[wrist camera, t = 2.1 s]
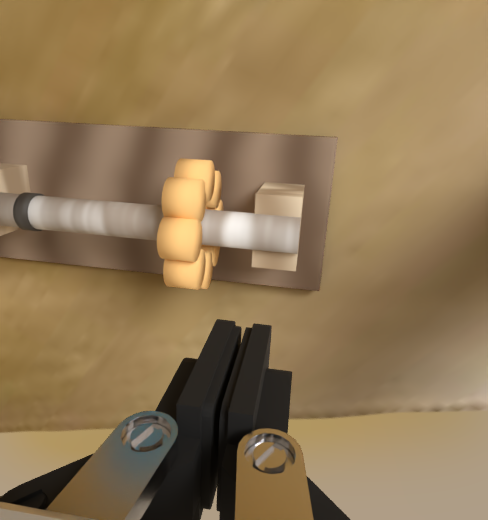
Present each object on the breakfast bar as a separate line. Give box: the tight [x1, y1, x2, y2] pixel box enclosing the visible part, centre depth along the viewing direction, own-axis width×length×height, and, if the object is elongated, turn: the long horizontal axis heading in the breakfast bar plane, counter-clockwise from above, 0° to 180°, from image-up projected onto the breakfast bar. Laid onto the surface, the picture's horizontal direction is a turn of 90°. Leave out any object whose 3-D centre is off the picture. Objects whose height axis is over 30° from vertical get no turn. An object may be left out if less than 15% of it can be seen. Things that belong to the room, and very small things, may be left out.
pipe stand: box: [0, 119, 338, 291], centre depth 30 cm, size 30×12×8 cm, turn 87°
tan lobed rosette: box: [157, 158, 223, 290], centre depth 27 cm, size 2×9×9 cm, turn 177°
